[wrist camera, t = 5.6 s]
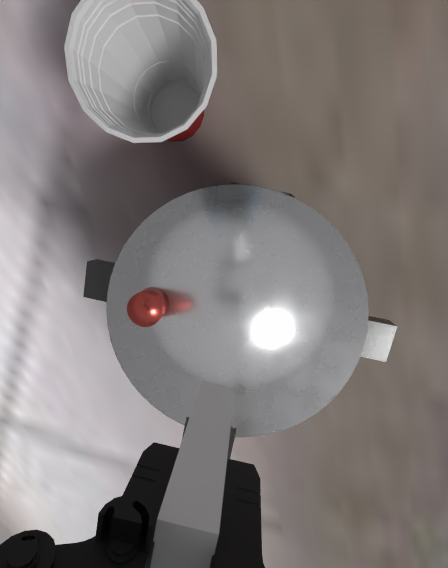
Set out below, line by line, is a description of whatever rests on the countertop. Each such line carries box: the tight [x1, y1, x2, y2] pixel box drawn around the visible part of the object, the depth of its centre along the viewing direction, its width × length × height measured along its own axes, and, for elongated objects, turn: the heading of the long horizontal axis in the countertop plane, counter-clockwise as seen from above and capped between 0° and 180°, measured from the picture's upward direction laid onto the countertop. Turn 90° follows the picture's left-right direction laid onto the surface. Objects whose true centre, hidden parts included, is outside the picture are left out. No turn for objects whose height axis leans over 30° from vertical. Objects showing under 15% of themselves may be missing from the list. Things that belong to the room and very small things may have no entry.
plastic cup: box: [64, 0, 217, 143], centre depth 28 cm, size 11×11×12 cm
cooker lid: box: [107, 182, 368, 459], centre depth 24 cm, size 23×19×4 cm
